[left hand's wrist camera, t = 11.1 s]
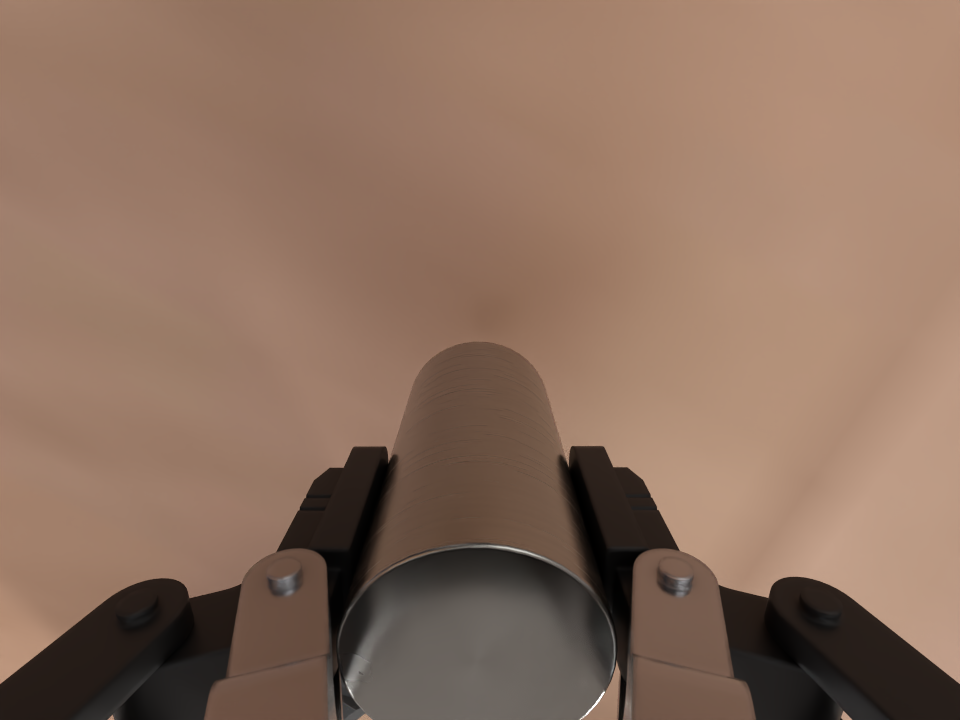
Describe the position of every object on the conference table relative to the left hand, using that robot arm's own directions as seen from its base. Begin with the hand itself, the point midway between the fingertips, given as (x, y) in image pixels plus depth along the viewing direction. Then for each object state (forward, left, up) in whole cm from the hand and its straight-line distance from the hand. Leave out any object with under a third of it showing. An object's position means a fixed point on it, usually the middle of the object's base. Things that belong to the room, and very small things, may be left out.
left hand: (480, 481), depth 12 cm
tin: (0, 0, -4) cm, 4 cm away
